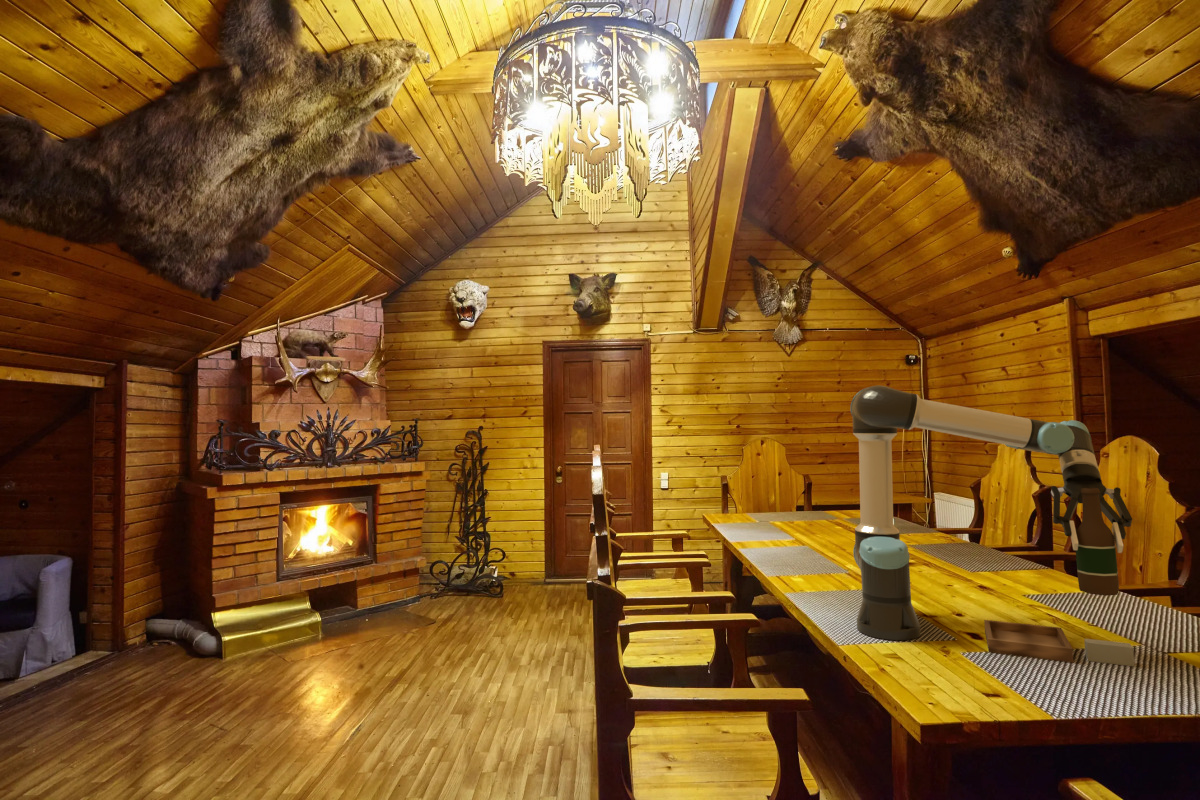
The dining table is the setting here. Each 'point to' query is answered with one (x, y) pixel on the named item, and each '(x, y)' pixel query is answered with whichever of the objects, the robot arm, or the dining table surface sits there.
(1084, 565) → the beer bottle
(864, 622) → the robot arm
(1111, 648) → the block
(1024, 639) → the tray
